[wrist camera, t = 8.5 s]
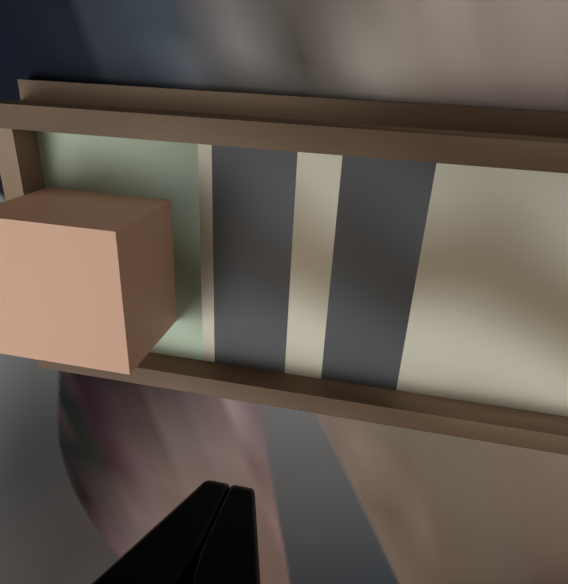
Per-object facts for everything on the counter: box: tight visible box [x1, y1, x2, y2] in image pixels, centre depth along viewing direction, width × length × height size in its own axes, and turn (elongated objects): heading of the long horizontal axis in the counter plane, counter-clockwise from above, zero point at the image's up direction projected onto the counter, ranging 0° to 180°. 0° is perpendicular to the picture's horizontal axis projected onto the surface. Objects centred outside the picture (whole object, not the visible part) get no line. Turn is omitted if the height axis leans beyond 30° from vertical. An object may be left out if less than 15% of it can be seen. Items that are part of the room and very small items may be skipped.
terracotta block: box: [0, 187, 177, 375], centre depth 17 cm, size 5×5×4 cm
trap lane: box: [0, 79, 568, 455], centre depth 18 cm, size 12×22×2 cm, turn 87°
